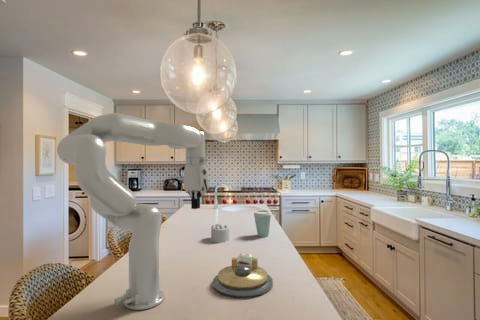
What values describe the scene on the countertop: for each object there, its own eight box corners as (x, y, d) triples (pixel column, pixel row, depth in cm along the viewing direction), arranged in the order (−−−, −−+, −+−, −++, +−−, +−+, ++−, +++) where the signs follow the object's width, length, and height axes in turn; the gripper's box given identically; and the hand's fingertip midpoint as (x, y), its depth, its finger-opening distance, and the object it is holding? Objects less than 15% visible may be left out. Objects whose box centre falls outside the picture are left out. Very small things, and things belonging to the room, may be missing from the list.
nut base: (250, 304, 93) (250, 294, 93) (200, 287, 106) (200, 278, 106) (283, 281, 110) (283, 272, 110) (236, 268, 123) (236, 261, 123)
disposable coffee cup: (272, 237, 173) (271, 212, 173) (254, 238, 173) (253, 212, 173) (270, 233, 183) (270, 209, 183) (253, 233, 183) (253, 209, 184)
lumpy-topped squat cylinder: (229, 236, 177) (229, 222, 177) (229, 242, 164) (228, 227, 164) (212, 237, 176) (212, 222, 176) (210, 243, 163) (210, 227, 163)
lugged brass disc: (266, 291, 98) (265, 275, 98) (213, 289, 100) (213, 273, 100) (268, 271, 116) (267, 257, 116) (223, 269, 118) (223, 256, 118)
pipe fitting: (247, 260, 136) (237, 263, 131) (247, 251, 136) (237, 254, 131) (260, 264, 131) (251, 267, 126) (261, 255, 131) (251, 257, 126)
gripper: (215, 161, 114) (216, 208, 114) (188, 162, 123) (189, 205, 123) (202, 162, 108) (203, 211, 108) (175, 162, 117) (175, 208, 117)
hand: (195, 208), depth 115 cm, fingers closed
